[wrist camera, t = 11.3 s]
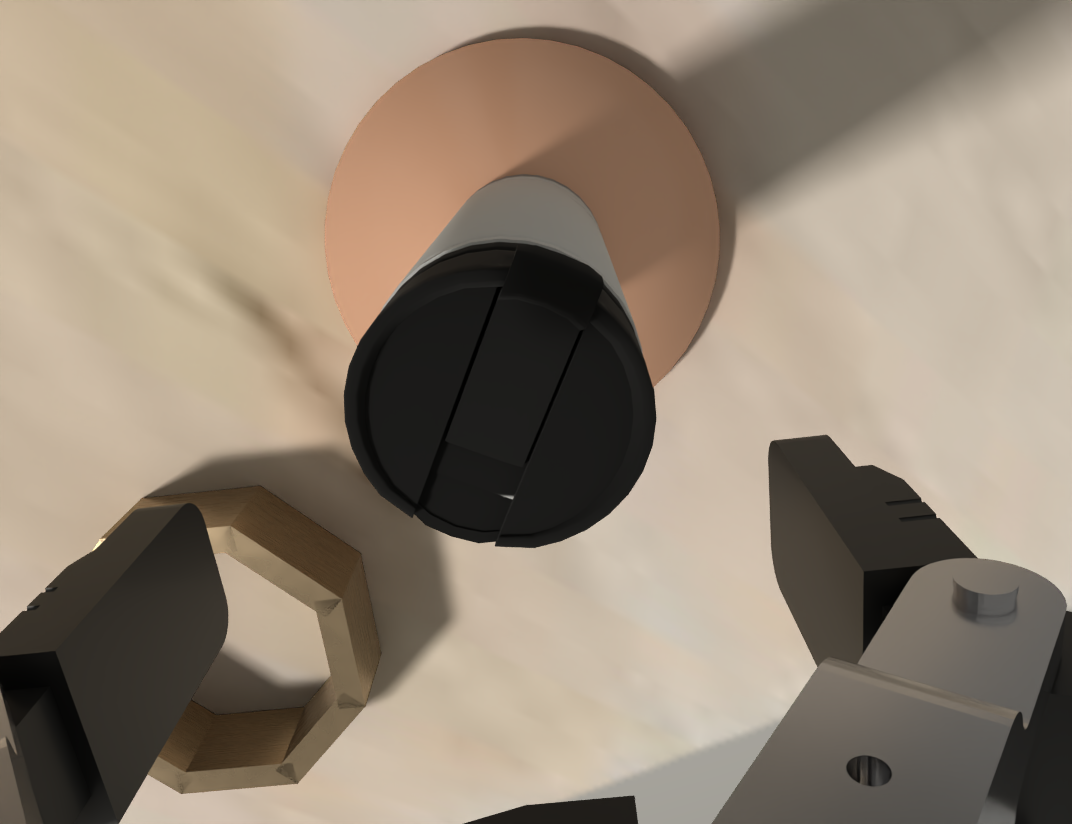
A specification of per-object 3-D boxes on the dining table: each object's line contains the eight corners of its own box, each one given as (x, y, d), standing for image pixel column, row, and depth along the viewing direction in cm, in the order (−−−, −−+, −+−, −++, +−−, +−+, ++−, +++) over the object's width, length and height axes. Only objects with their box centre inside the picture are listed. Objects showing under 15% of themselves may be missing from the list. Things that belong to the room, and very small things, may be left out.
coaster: (293, 67, 34) (287, 66, 33) (705, 14, 33) (709, 11, 32) (367, 447, 39) (364, 454, 38) (725, 409, 38) (728, 415, 38)
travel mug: (630, 199, 34) (725, 322, 16) (569, 349, 37) (588, 616, 18) (481, 140, 34) (394, 196, 15) (428, 297, 36) (293, 517, 17)
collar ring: (59, 506, 40) (9, 548, 36) (344, 476, 40) (323, 515, 36) (137, 742, 45) (99, 801, 41) (395, 719, 44) (381, 776, 40)
